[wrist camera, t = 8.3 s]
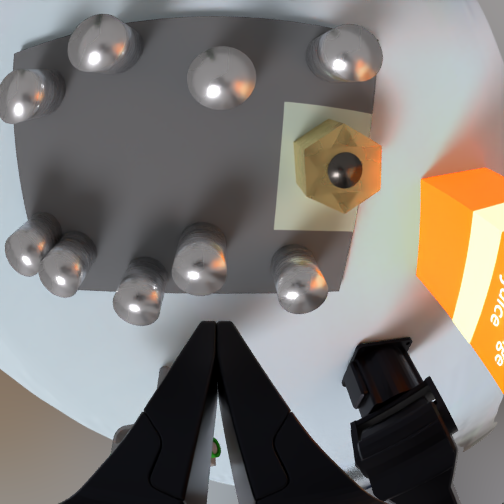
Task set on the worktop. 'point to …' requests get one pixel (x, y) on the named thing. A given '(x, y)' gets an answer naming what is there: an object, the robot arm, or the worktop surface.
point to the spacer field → (197, 234)
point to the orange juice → (467, 257)
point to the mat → (189, 152)
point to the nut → (337, 165)
